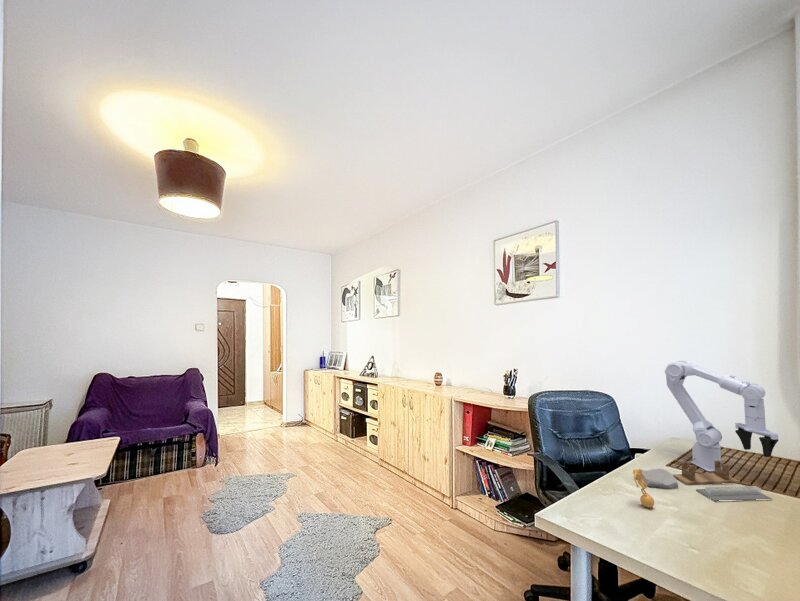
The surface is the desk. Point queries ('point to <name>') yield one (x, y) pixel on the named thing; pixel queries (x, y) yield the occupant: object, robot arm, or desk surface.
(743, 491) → the rail
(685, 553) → the desk surface
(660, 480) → the stone block
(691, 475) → the wooden two-post cradle
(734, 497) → the mat
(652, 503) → the figurine
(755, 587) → the desk surface
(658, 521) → the desk surface
